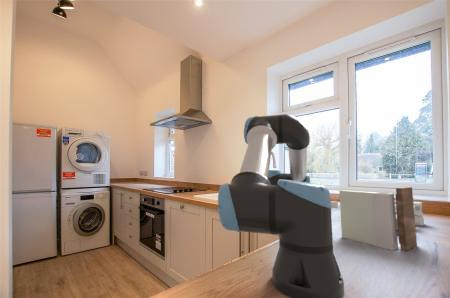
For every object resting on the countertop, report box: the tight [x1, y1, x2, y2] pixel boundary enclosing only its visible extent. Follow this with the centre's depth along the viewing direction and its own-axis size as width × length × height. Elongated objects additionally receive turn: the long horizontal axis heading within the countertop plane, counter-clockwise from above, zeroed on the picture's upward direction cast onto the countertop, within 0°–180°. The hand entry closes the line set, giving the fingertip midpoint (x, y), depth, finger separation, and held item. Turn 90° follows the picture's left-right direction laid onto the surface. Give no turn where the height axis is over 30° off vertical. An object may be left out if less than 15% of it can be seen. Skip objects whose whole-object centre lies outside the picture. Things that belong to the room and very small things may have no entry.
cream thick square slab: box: [339, 189, 399, 251], centre depth 81 cm, size 17×5×18 cm, turn 35°
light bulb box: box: [395, 200, 425, 227], centre depth 110 cm, size 11×7×11 cm, turn 46°
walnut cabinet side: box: [394, 186, 418, 252], centre depth 77 cm, size 6×11×20 cm, turn 125°
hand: (329, 206), depth 92 cm, fingers open, 13 cm apart
